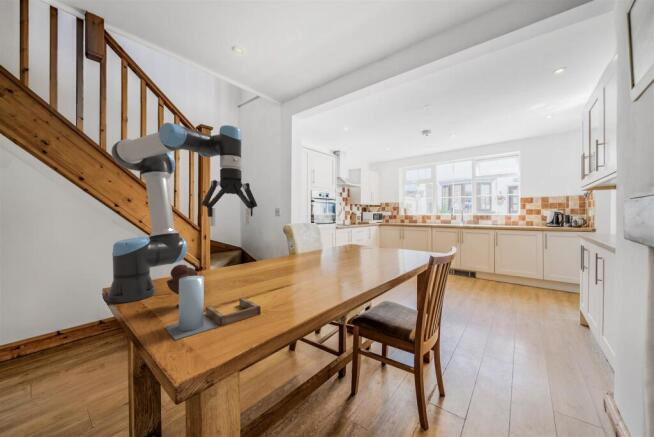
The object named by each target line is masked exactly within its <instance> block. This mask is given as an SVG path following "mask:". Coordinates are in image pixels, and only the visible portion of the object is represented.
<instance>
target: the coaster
mask: <svg viewBox="0 0 654 437" xmlns="http://www.w3.org/2000/svg"><path fill="white" fill-rule="evenodd" d="M216 328H219V326H218V325H217V324H216V323H215V322H213V321H212V320H211V319H209V318H208V317H207V315H206V316H205V315H204V321H203V326H202V327H200V328H198V329H195V330H191V331H181V330H179V322H176V323H172V324H167V325H165V326H164V329H166V331H167V332H168V333H169V334H170V336H171V337H172V338H173V339H174V341H179V340H181V339H184V338H188V337H190V336H191V337H192V336H195V335H197V334H198V335H199V334H200V333H203V332H208V331H211V330H213V329H216Z"/></svg>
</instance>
